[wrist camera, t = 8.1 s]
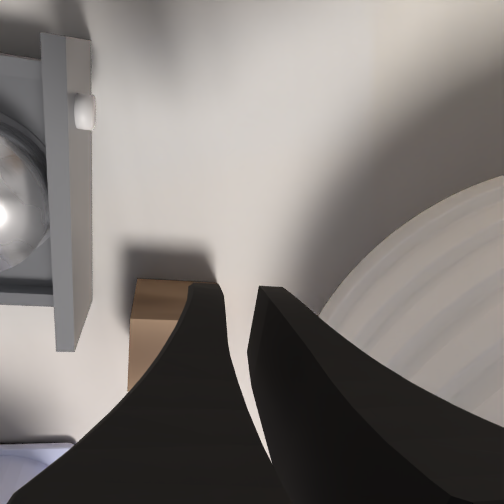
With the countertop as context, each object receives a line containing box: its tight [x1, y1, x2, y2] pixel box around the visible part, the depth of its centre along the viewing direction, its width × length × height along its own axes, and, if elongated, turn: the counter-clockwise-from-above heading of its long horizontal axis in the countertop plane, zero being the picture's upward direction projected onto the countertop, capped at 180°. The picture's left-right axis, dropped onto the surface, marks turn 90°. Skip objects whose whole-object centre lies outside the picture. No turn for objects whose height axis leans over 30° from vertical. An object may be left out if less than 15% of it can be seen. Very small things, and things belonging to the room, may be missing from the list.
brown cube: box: [127, 278, 217, 391], centre depth 20 cm, size 4×4×4 cm
